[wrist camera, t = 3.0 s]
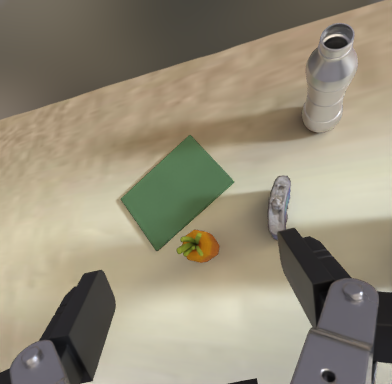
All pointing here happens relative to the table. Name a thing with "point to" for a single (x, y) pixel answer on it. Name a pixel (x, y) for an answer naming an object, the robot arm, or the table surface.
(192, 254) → the carrot
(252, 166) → the table surface
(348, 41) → the plastic bottle
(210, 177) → the green mat
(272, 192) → the flask
